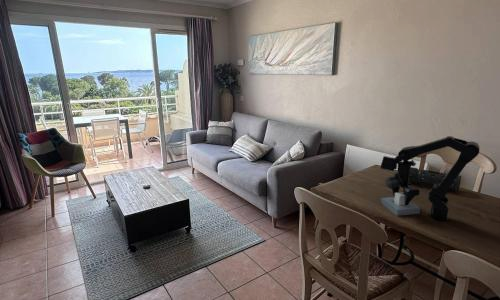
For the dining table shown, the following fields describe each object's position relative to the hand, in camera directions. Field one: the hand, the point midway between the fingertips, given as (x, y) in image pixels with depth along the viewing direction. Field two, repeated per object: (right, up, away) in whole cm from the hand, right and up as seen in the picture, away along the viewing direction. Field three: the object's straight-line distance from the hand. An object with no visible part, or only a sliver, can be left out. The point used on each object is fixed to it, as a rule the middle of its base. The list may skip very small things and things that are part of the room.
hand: (400, 201), depth 144 cm
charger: (0, -4, +1) cm, 4 cm away
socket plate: (0, -4, +1) cm, 4 cm away
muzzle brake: (+32, +4, +25) cm, 41 cm away
